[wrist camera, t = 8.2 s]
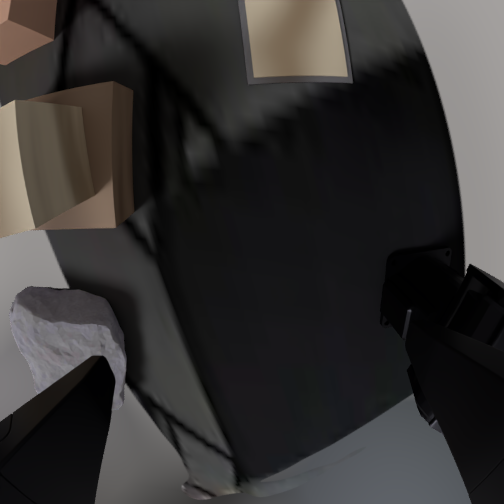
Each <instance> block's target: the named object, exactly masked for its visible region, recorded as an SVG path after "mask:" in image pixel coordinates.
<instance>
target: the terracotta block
mask: <svg viewBox="0 0 504 504" xmlns="http://www.w3.org/2000/svg"><path fill="white" fill-rule="evenodd" d="M56 6H57V0H0V64H2V65H7V64H8V63H10V62H12V61H14V60H15V59H17V58H19V57H21V56H23V55H24V54H26V53H28V52H30V51H32V50H34V49H36V48H38V47H40V46H42V45H44V44H46V43H49V42H51V41H53V40H54V31H55V17H56Z"/></svg>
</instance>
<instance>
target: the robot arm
mask: <svg viewBox="0 0 504 504" xmlns="http://www.w3.org/2000/svg"><path fill="white" fill-rule="evenodd" d="M446 252H447V253H446ZM451 254H452V250H451V248H449V247H448V246H443V247H437V248H431V249H425V250H418V251H412V252H406V253H399V254H393V255H390V256H389V257H388V259H387V264H386V275H385V282H384V284H383V291H382V300H381V308H380V311H381V318H380V324H381V325H382V327H384V328H387V327H392V326H393V328H394V329H395V330H396V332H397V333H398V334H399V335H400V337H401V338H402V339H403V340H406V343H405V347H406V351H407V353H408V356H409V358H410V361H411V363H412V364H411V365H410V366H409V368H408V369H407V372H408V376H409V379H410V383H411V386H412V390H413V393H414V397H415V402H416V404H417V408H418V410H419V412H420V415H421V416H422V417H423V418H424V419H425V420H426V421H427V422H428V423H429V425H430V427H432V428H433V429H435V430H437V431H439V432H440V433H442V434H443V435H444V437H445V439H446V441H447V444H448V446H449V448H450V450H451V453H452V455H453V457H454V460H455V462H456V464H457V467H458V469H459V471H460V474H461V477H462V479H463V481H464V484H465V487H466V489H467V492H468V494H469V498H470V500H471V503H472V504H504V283H503V282H502V281H500V280H498V279H496V278H495V277H493V276H491V275H490V274H488V273H486V272H484V271H482V270H481V269H479V268H477V267H475V266H473V265H471V264H469V266H468V268H467V270H466V271H467V273H466V275H465V277H464V276H462V275H461V274H459V273H458V272H457V271H455V270H454V269H452V268H451V267H450V261H451ZM393 260H395V262H394V263H392V261H393ZM386 321H387V322H386ZM385 322H386V323H385ZM115 384H116V380H115V375H114V373H113V371H112V369H111V367H110V365H109V362H108V360H107V358H106V357H105V356H103V355H93V356H91V357H89V358H88V359H86V360H85V361H84V362H82V363H81V364H80V365H78V366H77V367H75V368H74V369H73V370H71V371H70V372H68V373H67V374H66V375H64V376H63V377H61V378H60V379H59V380H57V381H56V382H54V383H53V384H52V385H50V386H49V387H48V388H46V389H45V390H43V391H42V392H41V393H39V394H38V395H37V396H35V397H34V398H32V399H31V400H30V401H28V402H27V403H25V404H24V405H23V406H21V407H20V408H19V409H17V410H16V411H15V412H13V414H10V415H9V416H8V417H6V418H5V419H3V420H2V421H1V422H0V504H95V497H96V491H97V485H98V480H99V474H100V469H101V463H102V459H103V454H104V449H105V445H106V440H107V436H108V431H109V427H110V420H111V413H112V405H113V398H114V391H115Z"/></svg>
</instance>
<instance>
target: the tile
mask: <svg viewBox="0 0 504 504" xmlns="http://www.w3.org/2000/svg"><path fill="white" fill-rule="evenodd" d="M238 5H239V13H240V21H241V30H242V38H243V47H244V56H245V65H246V73H247V82H248V85H255V84H270V83H296V82H329V83H353V79H352V71H351V64H350V57H349V50H348V44H347V38H346V32H345V27H344V21H343V16H342V11H341V6H340V1H339V0H238Z"/></svg>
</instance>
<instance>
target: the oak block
mask: <svg viewBox="0 0 504 504" xmlns="http://www.w3.org/2000/svg"><path fill="white" fill-rule="evenodd" d="M94 196H95V192H94V187H93V182H92V176H91V171H90V165H89V159H88V153H87V147H86V140H85V132H84V124H83V116H82V107H76V106H69V105H61V104H53V103H44V102H34V101H22V100H14V101H12V102H10V103H8V104H7V105H5V106H3V107H1V108H0V238H2V237H6V236H9V235H13V234H17V233H21V232H25V231H28V230H32V229H36V228H37V227H39V226H41V225H43V224H44V223H46V222H48V221H49V220H51V219H53V218H55V217H56V216H58V215H60V214H62V213H63V212H65V211H67V210H69V209H71V208H73V207H74V206H76V205H78V204H80V203H82V202H84V201H86V200H88V199H90V198H92V197H94Z"/></svg>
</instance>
